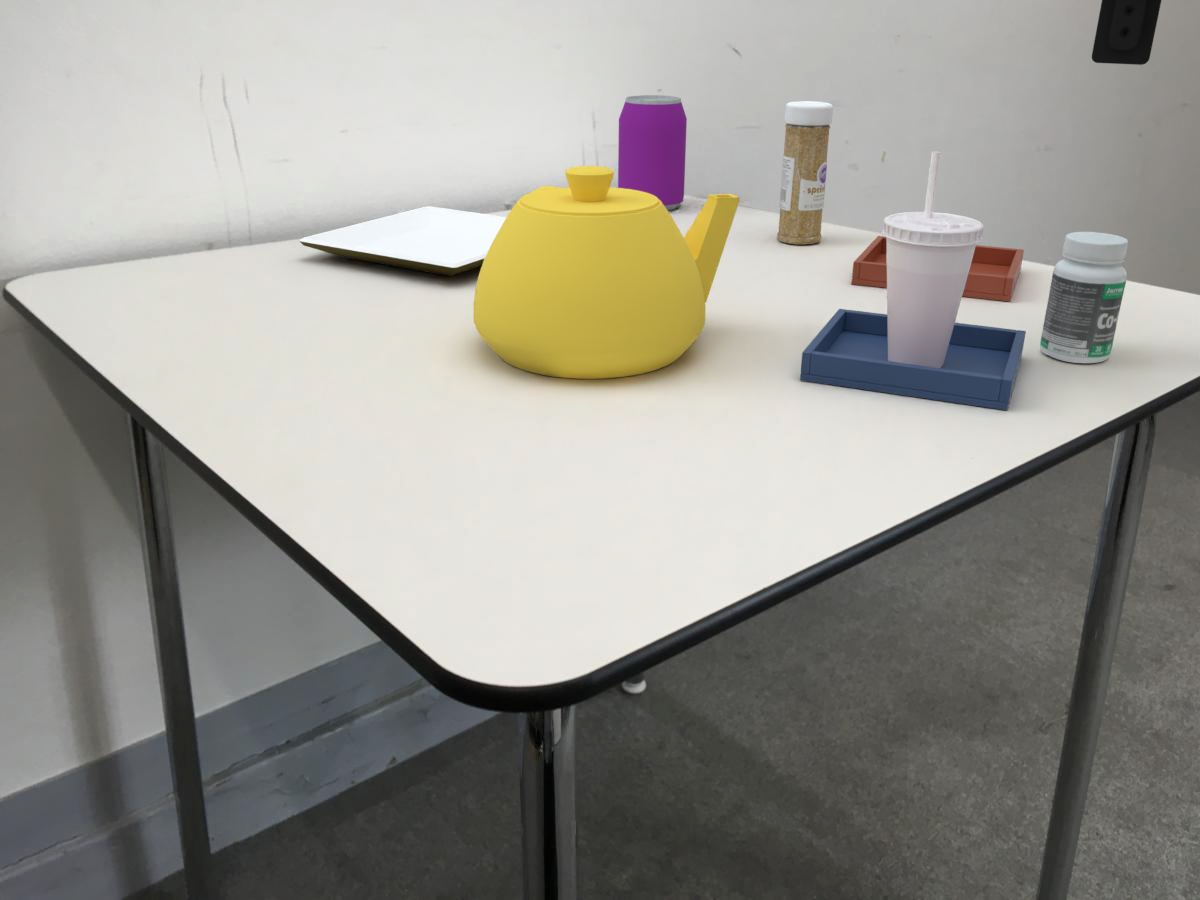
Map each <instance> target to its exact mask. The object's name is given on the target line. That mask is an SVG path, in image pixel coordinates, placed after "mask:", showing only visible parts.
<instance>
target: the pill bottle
mask: <svg viewBox="0 0 1200 900" xmlns="http://www.w3.org/2000/svg"><path fill="white" fill-rule="evenodd" d="M1128 245H1129V240H1128V239H1127V238H1126V237H1123V236H1120V235H1118V234H1117V235H1116V234H1113V233H1106V232H1096V231H1074V232H1069V233H1066V235H1065V237H1064V243H1063V247H1062V253H1061V254H1062V256H1063V257H1064V259H1061V260H1059V261H1057V262H1056V264H1055V265H1054V267H1053V271H1052V276H1051V281H1050V282H1051V283H1050V288H1049V292H1048V293H1049V294H1048V299H1047V305H1046V309H1045V315H1044V319H1043V320H1044V321H1043V324H1042V331H1041V336H1040V343H1039V349H1040V351H1041V352H1042V353H1043V354H1045V355H1046V356H1049V357H1051V358H1053V359H1055V360H1059V361H1062V362H1067V363H1074V364H1096V363H1097V364H1098V363H1101V362H1105V361H1106V360H1108V359H1109V358H1110V356H1111V353H1112V349H1113V343H1114V339H1115V335H1116V334H1115V333H1116V330H1117V324H1118V320H1119V316H1120V310H1121V307H1122V301H1123V298H1124V297H1123V296H1124V292H1125V289H1126V284H1127V278H1128V273H1127V270H1126V269H1125V267H1123V266H1122V265H1121V264H1122V263H1124V262H1125V258H1126V256H1127V253H1128V252H1127V251H1128Z"/></svg>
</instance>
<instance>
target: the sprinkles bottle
mask: <svg viewBox="0 0 1200 900" xmlns="http://www.w3.org/2000/svg"><path fill="white" fill-rule="evenodd" d="M784 108H785V109H784V119H783V121H784V123H785V126H784V128H785V133H784V145H783V146H784V147H783V155H782V164H781V165H782V166H781V177H780V178H781V179H780V191H779V192H780V194H779V220H778V230H777V231H778V232H777V233H776V238H777V240H778V241H780V242H782V243H784V244H789V245H795V246H803V245H814V244H817V243H819V242H821V240H822V238H823V237H822V220H823V209H824V207H825V206H824V205H825V204H824V203H825V194H826V184H827V183H826V181H827V170H828V164H827V163H828V150H829V149H828V148H829V140H830V139H829V136H830V129H831V126H830V125H831V124H833V114H834V105H833V104H832V103H830V102H825V101H818V100H817V101H816V100H798V101H790V102H787V103H786V104H785V107H784Z"/></svg>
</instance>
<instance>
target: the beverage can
mask: <svg viewBox="0 0 1200 900" xmlns="http://www.w3.org/2000/svg"><path fill="white" fill-rule="evenodd" d="M687 121H688V119H687V115H686V112H685V109H684V106H683V102H682V98H681V97H680V96H674V95H660V94H658V95H657V94H645V95H644V94H643V95H642V94H641V95H629V96H626V97H625V101H624V104H623V107H622V109H621V112H620V115H619V118H618V150H617V151H618V153H617V154H618V158H617V161H618V163H617V164H618V165H617V169H618V170H617V188H624V189H632V190H637V191H642V192H646V193H649V194H652V195H654V196H656V197H657V198H658V199H659V200H660V201H661V202H662V203H663V205H664V206H665V208H666V209H667V210H668V211H673V210H676V209H677V208H678V207H679V206H680V205H681V204H682V203H683V202H684V198H685V177H686V154H687V153H686V149H687V123H688V122H687Z"/></svg>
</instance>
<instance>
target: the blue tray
mask: <svg viewBox="0 0 1200 900" xmlns="http://www.w3.org/2000/svg"><path fill="white" fill-rule="evenodd" d="M1026 333H1027V332H1026V330H1021V329H1013V328H1004V327H994V326H987V325H978V324H971V323H969V324H968V323H963V322H955V324H954V327H953V331H952V335H951V338H950V342H949V346H948V349H947V353H946V356H945V360H944V364H943V366H942V367H941V368H935V367H928V366H921V365H913V364H906V363H899V362H891V361H888V328H887V313H878V312H871V311H863V310H862V311H861V310H853V309H845V308H838V309H837V311H836V312H835V313H834V314H833V315H832V317H830V319H829V320H828V321H827V323H826V324H825V325H824V326H823V327H822V328H821V330H820V331H819V332H818V333H817V334H816V335H815V336H814V338H813V339H812V341H811V342H810V343H808V345H807V346H806V347H805V349H804V350H803V351H802V353H801V364H800V374H799V380H800V381H802V382H803V381H804V382H808V383H809V382H810V383H816V384H825V385H830V386H836V387H844V388H851V389H857V390H858V389H859V390H863V391H871V392H877V393H878V392H879V393H886V394H891V395H898V396H905V397H906V396H907V397H913V398H918V399H919V398H920V399H927V400H932V401H933V400H934V401H941V402H945V403H946V402H947V403H954V404H959V405H960V404H961V405H967V406H968V405H969V406H974V407H979V408H980V407H981V408H987V409H994V410H1002V411H1008V410H1009V405H1010V402H1011V399H1012V395H1013V391H1014V387H1015V383H1016V379H1017V376H1018V372H1019V368H1020V364H1021V361H1022V356H1023V351H1024V344H1025V339H1026Z"/></svg>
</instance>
